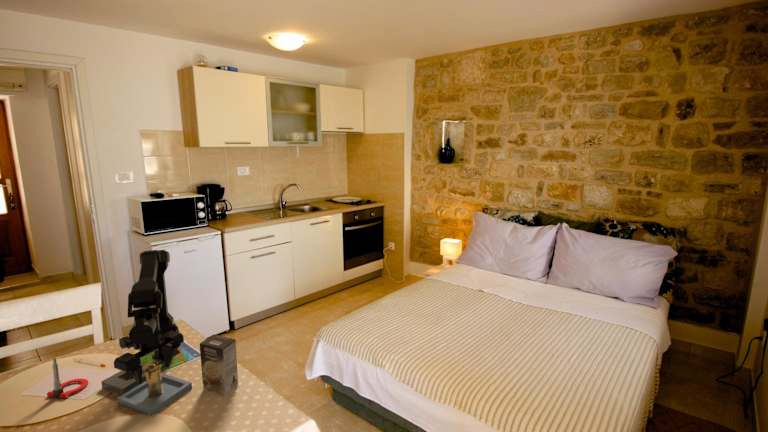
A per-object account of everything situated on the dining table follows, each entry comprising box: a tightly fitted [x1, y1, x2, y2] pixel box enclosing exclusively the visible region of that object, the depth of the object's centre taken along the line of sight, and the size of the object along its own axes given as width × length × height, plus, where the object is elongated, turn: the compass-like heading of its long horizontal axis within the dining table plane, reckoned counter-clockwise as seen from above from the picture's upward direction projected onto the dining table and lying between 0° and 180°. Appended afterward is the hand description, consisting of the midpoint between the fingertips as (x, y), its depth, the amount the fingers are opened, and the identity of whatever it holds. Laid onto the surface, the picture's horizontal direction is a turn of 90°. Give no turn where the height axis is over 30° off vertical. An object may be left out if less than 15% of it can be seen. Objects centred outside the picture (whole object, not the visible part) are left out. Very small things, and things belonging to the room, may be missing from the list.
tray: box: [116, 372, 193, 417], centre depth 118 cm, size 14×14×2 cm
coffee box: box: [199, 333, 239, 396], centre depth 121 cm, size 9×6×16 cm
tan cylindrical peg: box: [142, 359, 163, 398], centre depth 117 cm, size 5×5×10 cm
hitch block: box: [101, 362, 146, 396], centre depth 125 cm, size 12×10×2 cm
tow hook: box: [46, 356, 89, 400], centre depth 120 cm, size 8×13×9 cm
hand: (153, 375), depth 117 cm, fingers open, 9 cm apart
